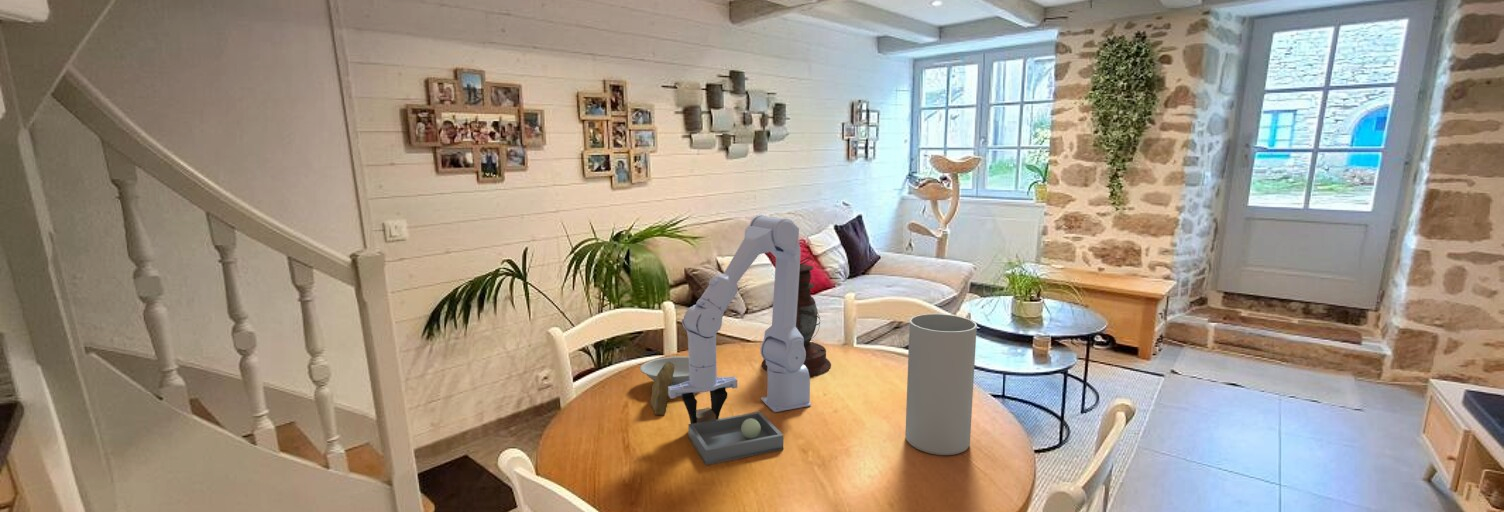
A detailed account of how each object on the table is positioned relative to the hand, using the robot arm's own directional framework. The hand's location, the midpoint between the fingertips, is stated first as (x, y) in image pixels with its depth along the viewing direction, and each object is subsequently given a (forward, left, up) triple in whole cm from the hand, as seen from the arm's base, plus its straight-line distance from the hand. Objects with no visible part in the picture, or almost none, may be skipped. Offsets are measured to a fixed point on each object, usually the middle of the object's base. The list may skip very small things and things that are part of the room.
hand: (704, 424), depth 130 cm
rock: (+6, -16, -2) cm, 17 cm away
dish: (-1, -27, -2) cm, 27 cm away
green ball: (-7, +8, -1) cm, 11 cm away
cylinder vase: (-42, +23, -2) cm, 48 cm away
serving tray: (-4, +8, -1) cm, 9 cm away
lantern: (-35, -28, -2) cm, 45 cm away
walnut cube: (0, 0, -1) cm, 1 cm away
